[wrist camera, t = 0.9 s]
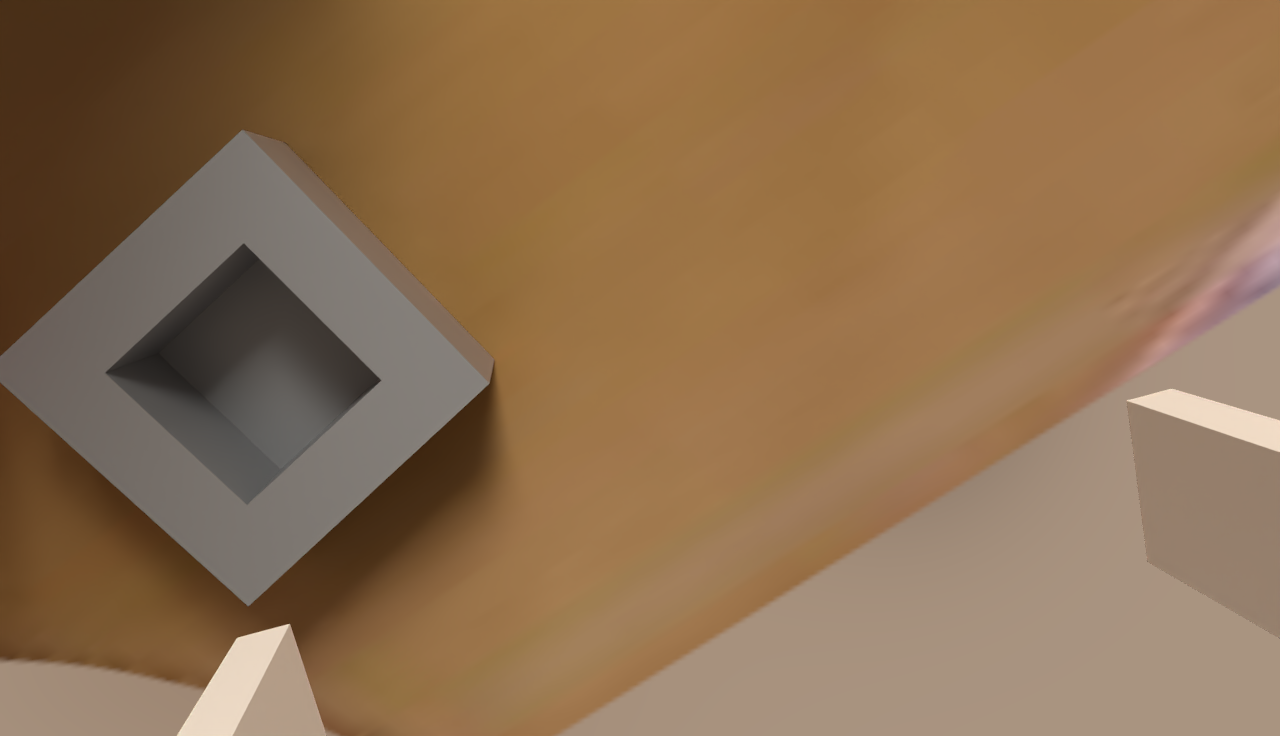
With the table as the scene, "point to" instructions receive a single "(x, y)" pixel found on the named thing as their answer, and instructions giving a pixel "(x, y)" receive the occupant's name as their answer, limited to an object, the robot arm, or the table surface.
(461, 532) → the table surface
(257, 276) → the holder
